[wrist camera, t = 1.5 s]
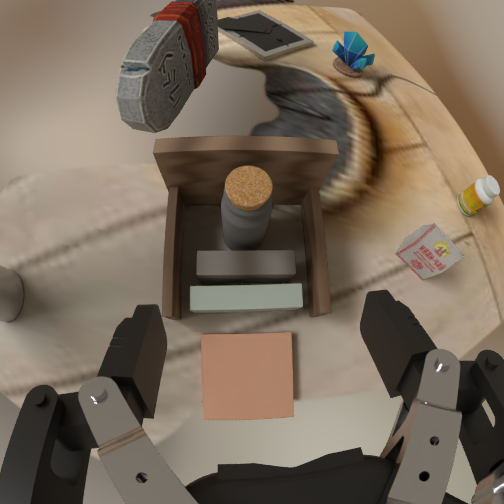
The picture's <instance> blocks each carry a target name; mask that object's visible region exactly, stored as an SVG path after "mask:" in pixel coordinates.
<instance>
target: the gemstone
mask: <svg viewBox="0 0 504 504" xmlns="http://www.w3.org/2000/svg"><path fill="white" fill-rule="evenodd" d="M367 48H368V45H367V44H366V43H365V41H364V40H363V39H362V38H361V37H360V35H359V34H358V33H357V32H344V47H343V46H342V45H341V44H340V43H339V42H338V41H336V43H335V45H334V47H333V49H332V51H333V52H334V53H335V54H336V55H337V56H338V58H335V59H334V61H333V65H334V67H335V69H336V70H337V71H339V72H340V73H342V74H344V75H346V76H349V77H359V76H360V75H361V74H362V70H363V69H364V68H365V67H366V66H368V65H372V64H373V60H374V57H375V54H370V55H366V56H363V55H364V54H365V52H366V50H367Z"/></svg>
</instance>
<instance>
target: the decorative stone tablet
mask: <svg viewBox="0 0 504 504" xmlns="http://www.w3.org/2000/svg"><path fill="white" fill-rule="evenodd" d="M218 50H219V45H218V17H217V0H176V1H175V2H171V3H170V4H169V5H167V6H166V7H165V8H164V9H163V10H162V11H161V12H160V13H159V14H158V15H157V16H155V17H154V19H153V23H152V24H151V25H150V26H149V27H148V28H147V29H146V30H145V31H144V32H143V33H142V34H141V35H140V36H139V37H138V38H137V39H136V40H135V41H134V43H133V44H132V45H131V47H130V49H129V51H128V52H127V54H126V56H125V57H124V59H123V61H122V64H121V68H120V72H119V77H118V82H117V88H116V99H117V103H118V108H119V111H120V116H121V120H122V121H124V122H125V123H126V124H128V125H129V126H130V127H131V128H133V129H136V130H141V131H147V132H152V133H156V132H159V131H162V130H165V129H167V128H168V127H169V126H170V125H171V123H172V122H173V121H174V119H175V118H176V117H177V116H178V114H179V113H180V111H181V110H182V108H183V106H184V105H185V103H186V101H187V100H188V98H189V96H190V95H191V93H192V91H193V90H194V89H196V88H198V87H199V86H200V84H201V82H202V80H203V79H204V77H205V75H206V67H207V66H208V64H209V63H210V61H211V60H212V58H213V57H214V56H215V54H216V53H217V51H218Z"/></svg>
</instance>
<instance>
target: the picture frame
mask: <svg viewBox="0 0 504 504" xmlns="http://www.w3.org/2000/svg"><path fill="white" fill-rule="evenodd" d="M218 32H220V33H222V34H223V35H225V36H227V37H228V38H230V39H231V40H233V41H234V42H236V43H238V44H239V45H241V46H242V47H244V48H245V49H247V50H248V51H250V52H251V53H253V54H254V55H256V56H257V57H259V58H260V59H261V60H263V61H266V60H269V59H272V58H274V57H277V56H280V55H283V54H286V53H289V52H292V51H295V50H298V49H302V48H305V47H308V46H312V45H313V41H312V40H311V39H309V38H308V37H306V36H304V35H303V34H301V33H299V32H298V31H296V30H294V29H293V28H291V27H289V26H288V25H286V24H284V23H282V22H281V21H279V20H277V19H275V18H273V17H271V16H270V15H268V14H266V13H264V12H262V11H260V10H259V11H255V12H251V13H247V14H243V15H240V16H236V17H232V18H230V17H227V18H223V19H219V20H218Z"/></svg>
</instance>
